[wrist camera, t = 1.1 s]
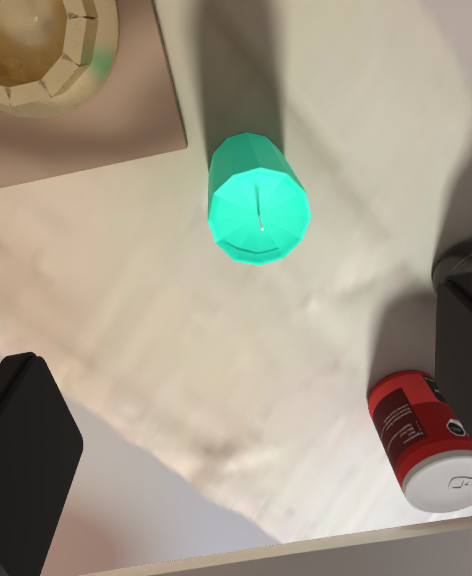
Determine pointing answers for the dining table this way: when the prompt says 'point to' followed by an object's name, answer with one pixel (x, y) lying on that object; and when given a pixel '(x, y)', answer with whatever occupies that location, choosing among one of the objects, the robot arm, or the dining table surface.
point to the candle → (255, 200)
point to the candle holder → (55, 53)
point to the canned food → (423, 442)
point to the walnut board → (103, 113)
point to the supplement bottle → (453, 263)
